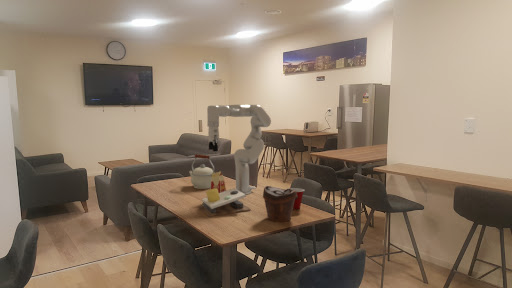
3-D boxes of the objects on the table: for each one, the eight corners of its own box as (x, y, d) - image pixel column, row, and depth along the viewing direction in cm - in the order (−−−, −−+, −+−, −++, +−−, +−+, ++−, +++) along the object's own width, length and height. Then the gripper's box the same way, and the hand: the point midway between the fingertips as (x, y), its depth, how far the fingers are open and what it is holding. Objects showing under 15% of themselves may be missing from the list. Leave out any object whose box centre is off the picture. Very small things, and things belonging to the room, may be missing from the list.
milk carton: (227, 199, 241) (227, 170, 239) (220, 203, 233) (219, 172, 230) (215, 198, 245) (215, 169, 242) (208, 201, 237) (207, 171, 234)
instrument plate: (234, 190, 231) (232, 179, 230) (245, 196, 215) (243, 185, 213) (202, 201, 222) (199, 189, 221) (211, 209, 206) (208, 196, 205)
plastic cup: (307, 207, 224) (307, 188, 222) (300, 211, 215) (300, 191, 213) (291, 204, 229) (291, 186, 228) (283, 208, 220) (283, 189, 219)
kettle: (221, 186, 279) (221, 154, 276) (206, 191, 264) (205, 157, 261) (197, 182, 292) (196, 152, 290) (181, 186, 277) (180, 154, 274)
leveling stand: (237, 202, 234) (237, 196, 234) (250, 210, 216) (250, 204, 216) (198, 207, 223) (198, 201, 222) (209, 216, 205) (209, 210, 205)
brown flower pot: (303, 221, 196) (303, 189, 194) (268, 225, 191) (268, 192, 189) (290, 212, 213) (290, 182, 211) (258, 215, 208) (258, 185, 206)
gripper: (222, 125, 229) (222, 151, 231) (215, 123, 245) (215, 148, 246) (211, 125, 226) (211, 152, 228) (204, 123, 242) (204, 149, 243)
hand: (213, 150), depth 237 cm, fingers open, 9 cm apart
